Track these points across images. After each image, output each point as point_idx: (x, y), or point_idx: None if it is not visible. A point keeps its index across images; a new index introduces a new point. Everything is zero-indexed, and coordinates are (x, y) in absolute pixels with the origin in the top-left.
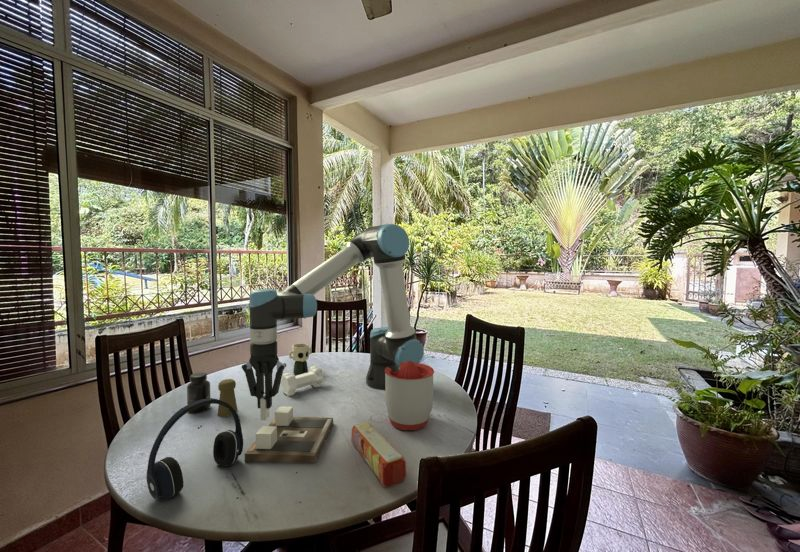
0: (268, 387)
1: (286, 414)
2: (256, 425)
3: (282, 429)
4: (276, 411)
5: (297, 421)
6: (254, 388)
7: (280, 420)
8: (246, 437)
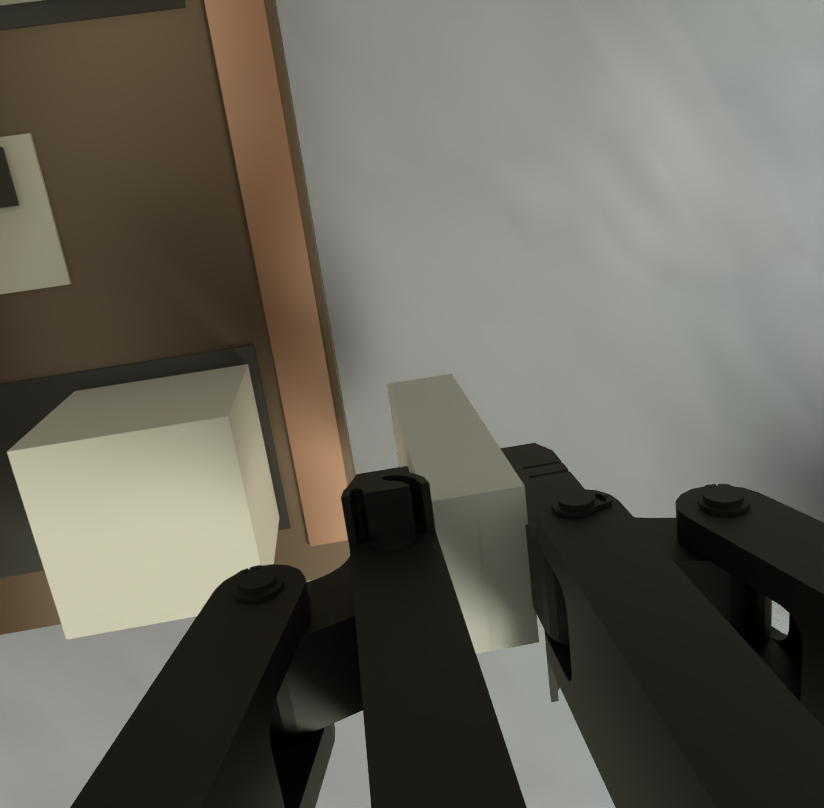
0: (376, 677)
1: (46, 438)
2: (544, 440)
3: (102, 307)
4: (218, 447)
5: None
6: (790, 672)
7: (160, 393)
8: (511, 193)
